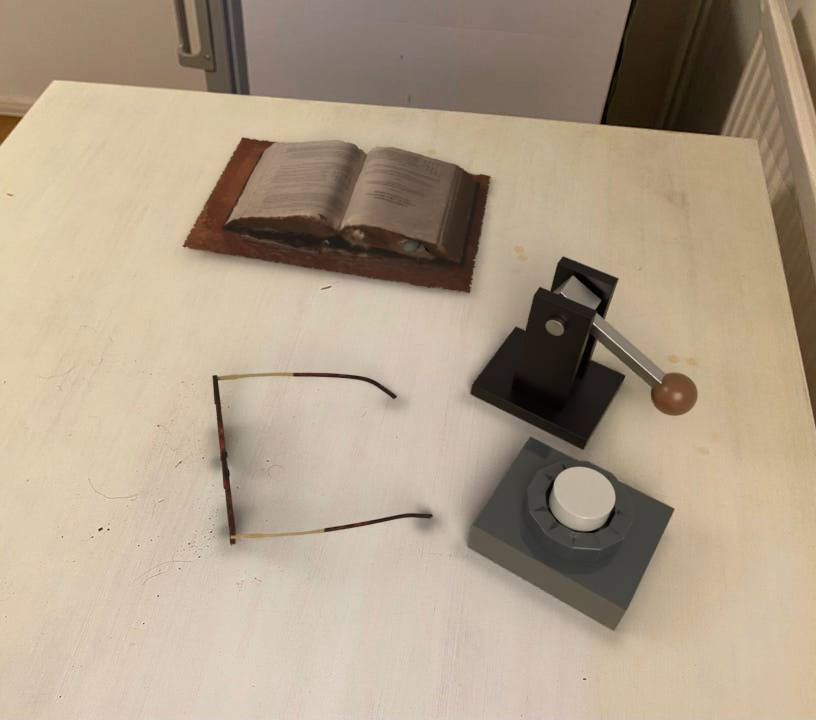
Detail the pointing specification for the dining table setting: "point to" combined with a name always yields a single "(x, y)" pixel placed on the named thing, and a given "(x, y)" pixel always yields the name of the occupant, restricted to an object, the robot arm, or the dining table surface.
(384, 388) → the sunglasses
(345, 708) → the dining table surface
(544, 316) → the lever bracket
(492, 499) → the button housing
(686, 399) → the flush lever
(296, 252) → the book
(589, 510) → the white push button
